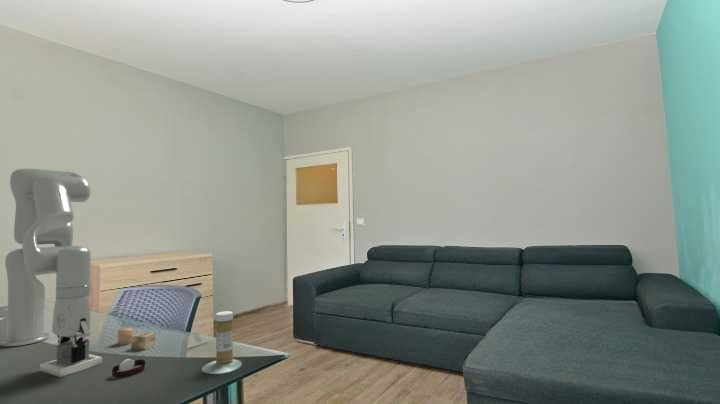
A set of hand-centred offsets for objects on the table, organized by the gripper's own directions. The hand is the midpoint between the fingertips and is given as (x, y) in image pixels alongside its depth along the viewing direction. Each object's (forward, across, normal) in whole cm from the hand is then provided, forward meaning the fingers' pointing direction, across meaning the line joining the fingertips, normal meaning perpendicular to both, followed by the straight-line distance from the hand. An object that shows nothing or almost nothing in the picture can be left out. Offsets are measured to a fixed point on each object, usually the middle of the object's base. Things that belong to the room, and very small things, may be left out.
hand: (71, 358), depth 103 cm
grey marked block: (+1, 0, 0) cm, 1 cm away
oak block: (+2, +2, +19) cm, 19 cm away
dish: (+2, 0, 0) cm, 2 cm away
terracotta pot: (+2, -8, +20) cm, 21 cm away
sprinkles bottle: (+2, +36, +20) cm, 41 cm away
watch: (+3, +19, +4) cm, 20 cm away
